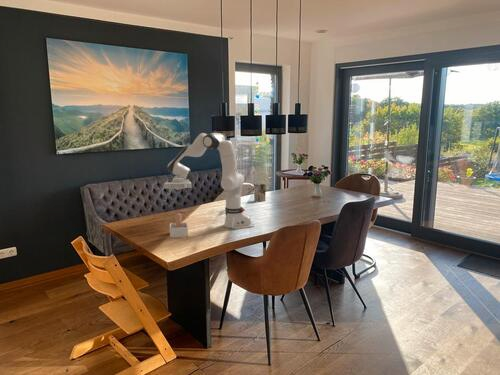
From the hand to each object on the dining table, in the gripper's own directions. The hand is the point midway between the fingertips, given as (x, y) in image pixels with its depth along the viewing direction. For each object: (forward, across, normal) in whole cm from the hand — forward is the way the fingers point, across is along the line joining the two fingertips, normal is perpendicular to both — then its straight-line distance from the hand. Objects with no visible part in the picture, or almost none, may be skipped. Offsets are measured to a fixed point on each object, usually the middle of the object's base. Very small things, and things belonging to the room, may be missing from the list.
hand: (177, 187), depth 278 cm
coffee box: (-71, +75, +30) cm, 108 cm away
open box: (+19, 0, +30) cm, 35 cm away
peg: (+19, 0, +29) cm, 35 cm away
